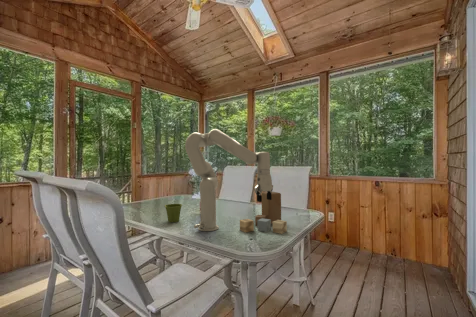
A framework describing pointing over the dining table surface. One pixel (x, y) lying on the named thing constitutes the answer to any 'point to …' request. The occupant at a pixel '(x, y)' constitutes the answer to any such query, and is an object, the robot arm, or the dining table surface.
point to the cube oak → (246, 225)
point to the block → (272, 206)
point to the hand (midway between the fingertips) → (264, 200)
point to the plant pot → (173, 212)
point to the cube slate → (264, 224)
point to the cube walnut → (259, 218)
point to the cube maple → (279, 226)
